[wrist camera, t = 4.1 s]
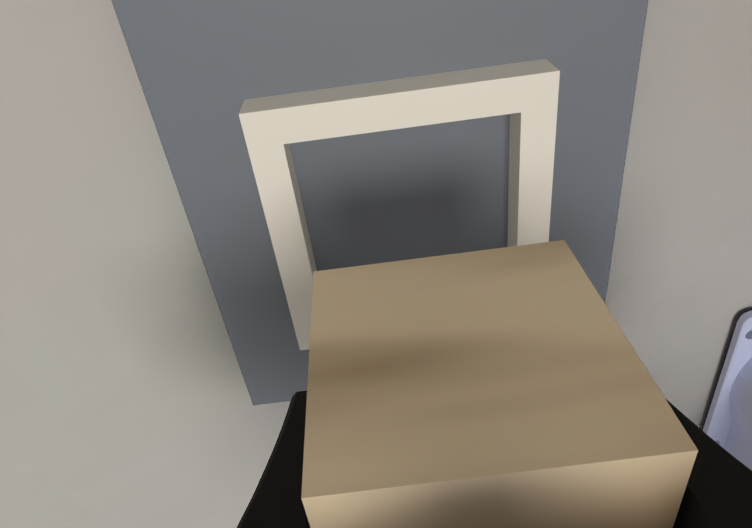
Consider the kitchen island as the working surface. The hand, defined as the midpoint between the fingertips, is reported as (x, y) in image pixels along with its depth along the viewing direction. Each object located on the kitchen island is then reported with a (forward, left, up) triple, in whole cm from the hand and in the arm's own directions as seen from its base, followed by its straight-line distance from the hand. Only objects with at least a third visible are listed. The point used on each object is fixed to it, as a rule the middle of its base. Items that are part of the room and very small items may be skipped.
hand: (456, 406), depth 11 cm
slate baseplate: (0, 0, -9) cm, 9 cm away
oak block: (0, 0, -2) cm, 2 cm away
